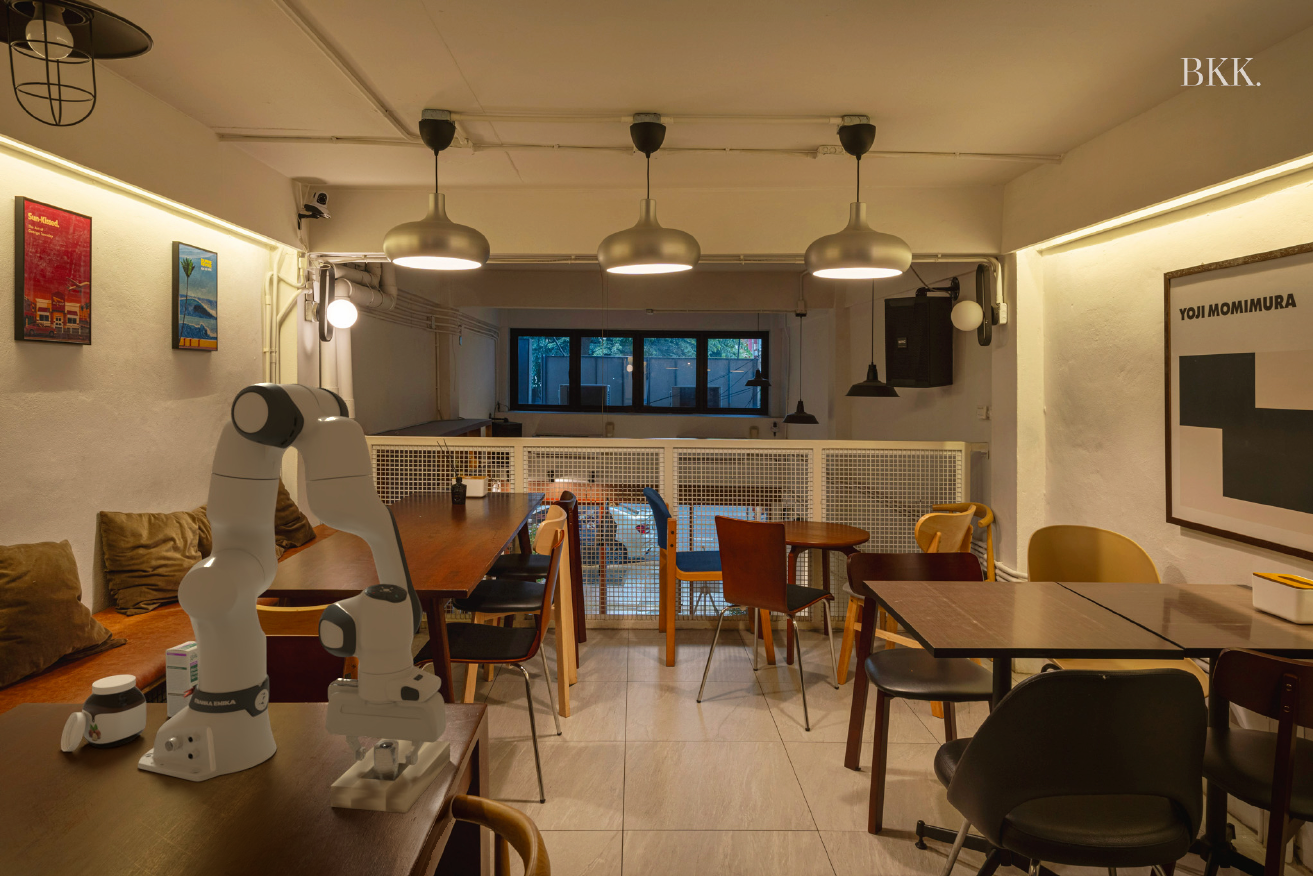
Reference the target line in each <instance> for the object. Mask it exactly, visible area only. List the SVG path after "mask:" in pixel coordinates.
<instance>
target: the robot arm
mask: <svg viewBox="0 0 1313 876" xmlns="http://www.w3.org/2000/svg"><path fill="white" fill-rule="evenodd" d="M349 411H350V410H349V407H348V405H347V403H346V401H345V400H344V399H343V398H342V397H341V396H340V395H339V394H338V393H336V392H334V391H332V390H330V389H328V388H324V387H315V386H313V385H312V386H311V385H307V384H302V383H301V384H300V383H273V382H263V383H262V382H261V383H255V384H250V385H248V386H246V387H244V388H243V389H241V390H240V391H239V392H238V393H237V395H235V397H234V399H233V402H232V403H231V409H230V419H228V420H227V421H226V422H225V424H223V427H222V429H221V433H220V435H219V439H218V442H217V445H216V447H215V448H216V449H215V451H214V456H213V460H212V467H211V472H210V473H211V474H210V480H209V481H210V482H209V488H208V496H207V504H206V511H205V516H206V519H207V521H208V522H209V524H210V525H209V526H210V531H211V542H212V546H211V553H210V555H209V556H208V557H205V558H203V559H202V560H199V561H198V562H196V563H195V564H194V565H193V566H191V568H190V569H189V571H187V572H186V574H184V575H185V576H183V578H182V580H181V581H180V584H179V586H178V588H177V589H178V590H177V599H178V602H179V605H180V607H181V608H182V610H183V611H184V612H185V613H186V614H187V615H188V617H189V619H190V623H191V627H192V629H193V633H194V637H195V641H196V644H197V661H198V684H196V685H194V686H193V688H191V689H189V690H187V691H185V692H183V693H186V692H188V693H187V694H186V695H185V696H184V698H185V697H187V696H189V695H191V694H192V697H191V699H190V702H189V705H187V706H186V707H185V708H184V709H182V710H181V711H180V712H178V713H177V714H176V715H174V716H173V717H170V719H168V720H166V721H165V722H164V723H163V724H162V725H161V726H160V727H159V729H158V730H157V732H156V734H155V737H154V742H153V748H151V749H150V750H148V751H147V752H146V753H144V754H143V755H142V756H141V757H140V758H139V761H138V763H137V769H141V770H145V771H147V772H148V771H149V772H153V773H157V774H162V775H166V776H171V777H176V778H179V779H184V780H188V781H192V782H202V781H206V780H208V779H212V778H215V777H218V776H220V775H226V774H233V773H237V772H240V771H244V770H247V769H249V768H253V767H255V766H257V765H261V763H264V762H265V761H267V760H268V759H270V758H271V757H272V756H273V755H274V754H275V752H276V751H277V745H276V742H275V737H274V735H273V730H272V727H271V722H270V715H269V701H270V677H269V675H268V674H267V636H266V633H265V631H263V629H262V626H261V624H260V619H259V615H258V612H257V611H258V609H257V603H258V602H257V600H258V597H260V596H261V595H262V594H263V593H264V592H266V591H267V590H268V589H269V588H270V586H272V585H273V582H274V580H275V579H276V576H277V573H278V569H279V562H278V561H279V559H278V558H277V556H276V536H275V535H276V534H275V533H276V532H275V517H276V508H277V507H276V506H277V501H278V500H277V499H278V492H279V486H280V485H279V484H280V477H281V470H282V469H281V468H282V461H283V456H284V454H285V452H286V451H287V450H288V449H289V448H290V447H292V448H294V449H296V450H297V451H298V452H299V453H300V455H301V457H302V460H303V466H304V481H305V492H306V493H305V494H306V499H307V504H308V508H309V510H310V512H311V514H312V515H313V516H314V518H316V519H317V520H318V521H319V522H321V523H322V524H323V525H325V526H327V527H329V528H332V529H334V530H337V531H341V532H345V533H349V534H352V535H355V536H358V537H359V538H362V539H363V540H364V541H365V542H366V543H367V545H368V546H369V548H370V550H371V553H372V558H373V561H374V564H375V570H376V572H377V576H378V581H379V583H378V584H372V585H369V586H367V587H366V588H364V589H363V590H362V591H361V592H360V593H359V594H358V595H355V596H353V597H349V598H346V599H342V600H339V601H336V602H334V603H330V604H328V605H327V607H325V609H324V610H323V611H322V613H321V615H320V618H319V620H318V629H317V631H318V634H317V635H318V640H319V642H320V645H321V646H322V647H323V649H325V651H326V652H328V653H329V654H331V655H333V656H334V657H335V656H336V657H339V658H350V657H356V658H357V659H358V665H357V679H355V678H354V679H353V678H352V679H346V678H337V679H336V680H333V681H332V682H331V683H330V684H329V686H328V687H327V699H328V703H327V707H326V709H327V710H326V717H325V729H326V730H327V733H328V734H330V735H334V736H345V737H346V739H345V740H346V743H347V745H348V746H349V749H350V750H351V752H352V760H353V761H356V762H357V761H362V760H363V759H364V758H365V757H366V753H367V746H362V744H361V741H360V740H359V738H371V739H395V740H407V741H412V746H413V747H414V746H415V747H414V749H413V751H409V752H408V754H406V755H405V759H406V762H405V764H406V765H415V764H416V763H417V761H418V752H419V750H420V748H421V747H422V745H423V743H424V742H431V743H433V742H435V741H438V740H439V739H440V738H441V737H442V736H443V734H444V732H445V730H446V726H447V725H446V724H447V721H446V718H447V717H446V707H445V700H444V697H443V696H442V694H441V693H440V692H439V690H440V688H441V685H442V679H441V678H440V677H439V676H437V675H435V674H433V673H431V672H428V671H425V670H424V669H421V668H419V667H417V666H415V665H414V658H413V654H412V643H413V641H414V636H415V635H416V633H417V631H418V629H419V628H420V626H421V622H422V619H423V607H422V604H421V600H420V598H419V596H418V594H417V592H416V589H415V587H414V584H413V581H412V576H411V573H410V569H409V565H408V561H407V557H406V552H405V548H404V546H403V542H402V538H401V534H400V531H399V525H398V523H397V520H396V518H395V517H396V516H395V515H394V512H393V511H392V509H391V507H389V506H388V505H387V504H385V503H384V502H383V501H382V499H381V498H380V496H379V493H378V492H377V487H376V486H375V482H374V481H375V480H374V476H373V466H372V460H371V455H370V451H369V446H368V441H367V439H366V436H365V435H366V434H365V433H364V429H363V427H362V426H361V425H360V423H359V422H357V421H356V420H354V419H352V418H350V413H349Z"/></svg>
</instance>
